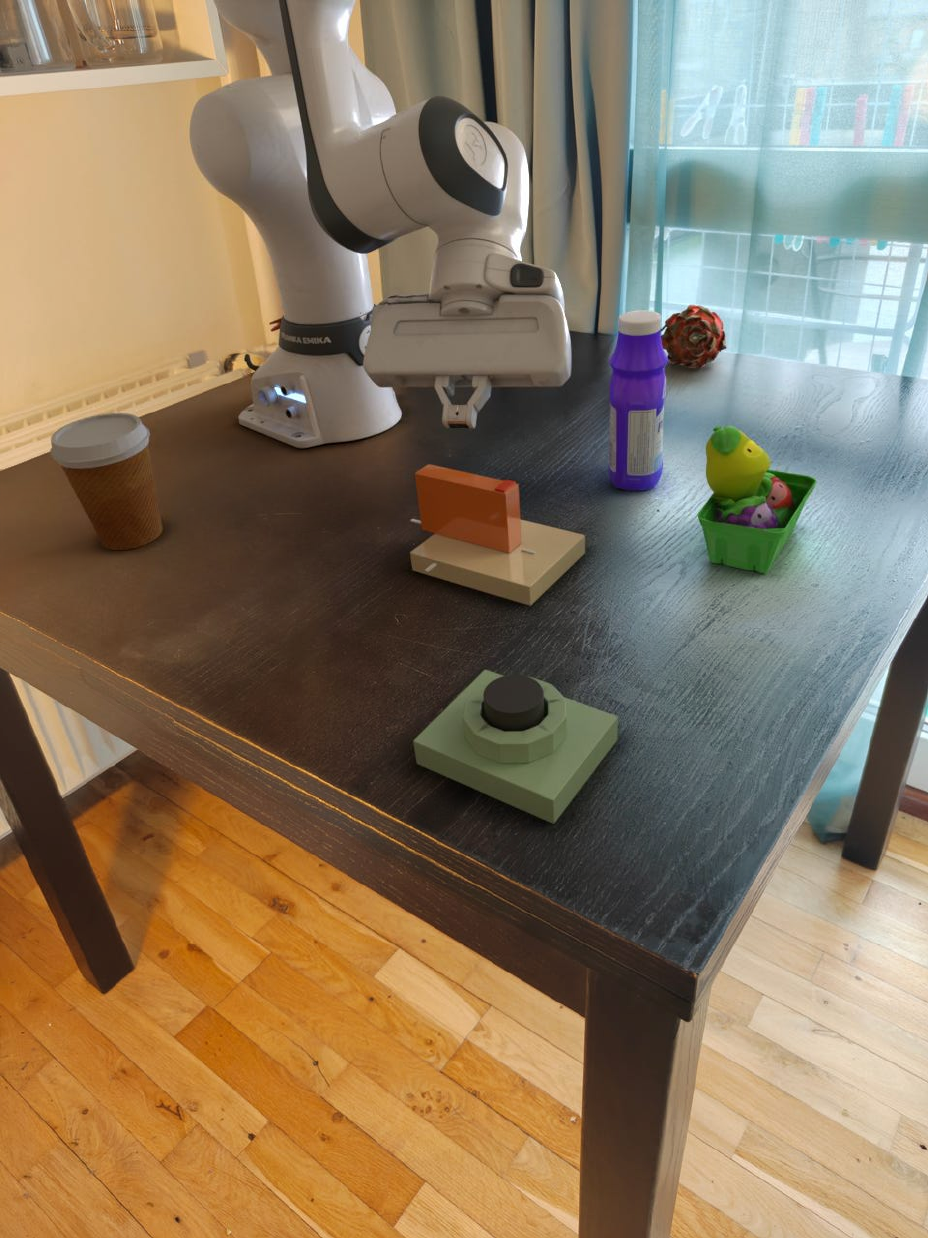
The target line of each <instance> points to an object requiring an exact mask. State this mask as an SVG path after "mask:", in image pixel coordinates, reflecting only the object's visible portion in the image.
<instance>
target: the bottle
mask: <svg viewBox="0 0 928 1238" xmlns="http://www.w3.org/2000/svg"><path fill="white" fill-rule="evenodd" d="M617 322H618V323H617V324H618V327H617V338H616V340H617V341H616V344H615V348H614V351H613V353H612V355H611V357H610V358H609V365H610V367H611V370H612V373H611V377H610V381H609V382H610V384H609V393H608V395H609V397H608V399H609V448H608V449H609V451H608V475H609V480H610V481H611V484H612V485H613V486H614V487H615V488H617V489H619V490H624V491H647V490H651V489H653V488H654V487H655V486H657V485H658V483H659V482H660V480H661V477H662V473H663V469H664V460H663V446H664V445H663V442H664V416H665V399H666V396H667V377H666V373H665V368H666V366H667V365H668V362H669V360H668V358H667V356H668V355H667V353H666V351H665V349H663V347H662V341H661V335H662V331H661V329H662V315H661V314H660V313H659V312H657V311H653V310H645V309H641V310H639V309H638V310H631V311H627V312H623V313H621V314H620V315H619V316H618V320H617Z"/></svg>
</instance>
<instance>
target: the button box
mask: <svg viewBox="0 0 928 1238" xmlns="http://www.w3.org/2000/svg"><path fill="white" fill-rule="evenodd" d="M502 676H503V675H502V674H499V673H496V672H493V671H491V670H489V669H483V671H482V672H480V674H479V675H478V676H477V677H476V678H475V679H474V680H473V681H472V682H470V684H469V685H468V686H467V687H466V688H464V690H462V691H461V692H460V693H459V695H458V696H457V697H456V698H454V699H453V700H452V702H450V703H449V704H448V706H446V707H445V708H444V710H442V712H441V713H439V714H438V716H437V717H435V718H434V719H433V720H432V721H431V722H430V723H429V725H427V726H426V727H425V729H423V730H422V732H420V733H419V734H418V735H417V736H416V737H415V738H414V739H413V741H412V743H413V748H414V755H415V756H414V757H415V763H416V764H417V765H418V766H421V767H423V768H425V769H427V770H430V771H433V772H435V773H437V774H439V775H441V776H443V777H445V778H448V779H451V780H453V781H454V782H457V783H458V784H459V783H460V784H462V785H464V786H466V787H469V788H471V789H472V790H475V791H478V792H480V793H483V794H485V795H487V796H489V797H491V798H494V799H496V800H498V801H501V802H503V803H505V804H508V805H509V806H512V807H514V808H516V809H519V810H521V811H523V812H526V813H528V814H530V815H532V816H534V817H537V818H539V819H541V820H543V821H546V822H548V823H550V824H553V825H554V824H555V823H556V822H557V821H558V819H559V818H560V817H561V815H562V814H563V813H564V812H565V810H566V809H567V807H568V806H569V805H570V804H571V802H572V801H573V800H574V798H575V797H576V795H578V793H579V792H580V790H581V789H582V788H583V786H584V785H585V783H586V782H587V781H588V780H589V778H591V775H592V774H593V773H594V772H595V770H596V769H597V767H599V765H600V764H601V762H602V761H603V760H604V758H606V756H607V754H609V752H610V750H611V749H612V748H613V747H614V745H615V743H617V741H618V735H619V734H618V733H619V730H618V729H619V726H618V725H619V716H618V715H616V714H612V713H610V712H606V711H603V710H602V709H598V708H595V707H592V706H590V705H587V704H583V703H581V702H579V701H576V700H573V699H570V698H567V697H564V695H562V694H561V692H560V691H558V689H557V688H556V687H555V686H554V685H553V684H551V683H549V682H546V681H544V680H542V679H541V680H540V679H537V678H536V677H532V676H529V677H530V678H533V679H534V680H536V681H537V682H538V683H539V684H540V685H541V686H542V688H543V692H544V717H543V719H542V721H541V722H540V723H539V724H538V725H537V726H535V727H533V728H530V729H528V730H525V731H520V732H504V731H502V730H499V729H496V728H494V727H492V726H491V725H490V724H489V723H488V721H487V720H486V717H485V708H484V697H483V694H484V690H485V688H486V687H487V685H488V684H489V683H490V682H492V681H493V680H495V679H497V678H499V677H502Z"/></svg>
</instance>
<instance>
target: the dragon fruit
mask: <svg viewBox="0 0 928 1238" xmlns="http://www.w3.org/2000/svg"><path fill="white" fill-rule="evenodd" d="M663 331H664V332H663ZM661 332H663V334H661V341H662V347H663V350H664V351H666V354H667V355H666V356H667V358H668V362H670V363H671V364H673V365H674V366H679V365H683V366H684V367H685V368H688V369H693V370H695V369H696V370H699V369H702V368H703V367H704V366H705V365H708V364H711V363H712V362H714V361H715V360H716V359H717V357H718V356H719V353H720V352H722V351H723V350H726V349H727V338H726V337H727V336H726V332H725V330H724V321H723V320H722V318H721V317H720V315H718V313H717V312H715V311H711V310H710V309H709V308H707V307H704V306H703V305H696V304H689V305H688V306H687V308H686V309H685V310H683V311H681V312H676V313H672V314H671V315H670V316H669V317H668V318H667V319H666V320H665V321H664V325H663V326H661Z"/></svg>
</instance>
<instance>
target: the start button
mask: <svg viewBox="0 0 928 1238" xmlns="http://www.w3.org/2000/svg"><path fill="white" fill-rule="evenodd" d="M530 677H531V676H527V675H524V674H507V675H502V677H499V678H497V679H495V680H493V681H492V682H490V683H489V684H488V685H487V687H486V688H485V690H484V694H483V697H484V708H485V717H486V720H487V721H488V723H489V724H490V725H491V726H492V727H494V728H496V729H499V730H502V731H504V732H520V731H525V730H528V729H530V728H533V727H535V726H537V725H538V724H539V723H540V722H541V721H542V719H543V717H544V692H543V688H542V686H541V685H540V684H539V683H538V682H537V681H536V680H534V679H533V678H534V677H532V678H530Z"/></svg>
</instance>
